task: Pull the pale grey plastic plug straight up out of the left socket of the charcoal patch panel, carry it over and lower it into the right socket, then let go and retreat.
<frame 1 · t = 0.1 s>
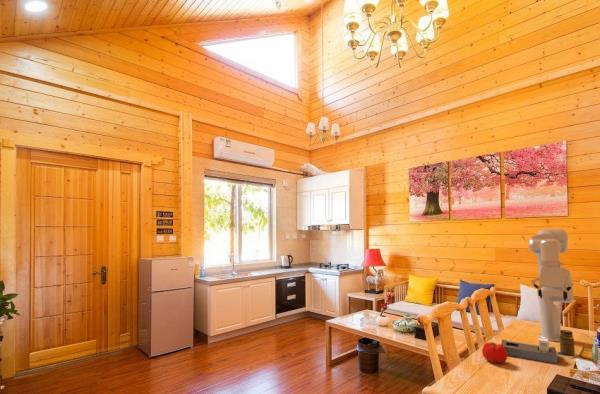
hand: (552, 298, 171), 31 cm above the table, fingers open, 9 cm apart
condiment: (566, 354, 179), on the table
tomato: (495, 362, 169), on the table
panel: (528, 354, 178), on the table
plug: (544, 357, 175), resting in panel
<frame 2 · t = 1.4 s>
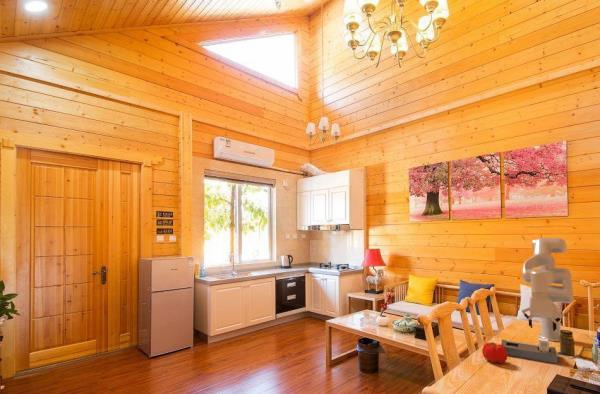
hand: (542, 329, 176), 14 cm above the table, fingers open, 9 cm apart
nothing on the table moved.
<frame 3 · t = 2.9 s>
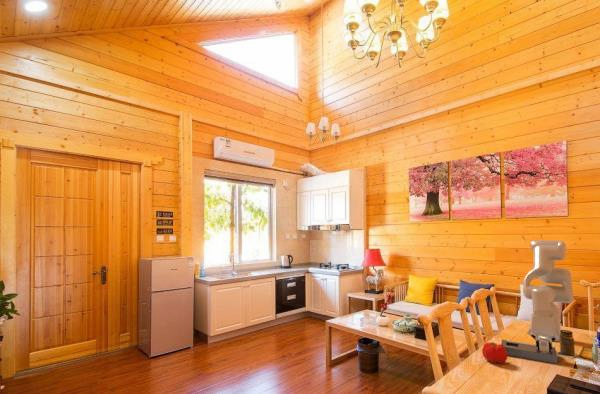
hand: (544, 348, 175), 4 cm above the table, fingers closed on plug, 4 cm apart
plug: (544, 357, 175), resting in panel, touching gripper
everything else where it was.
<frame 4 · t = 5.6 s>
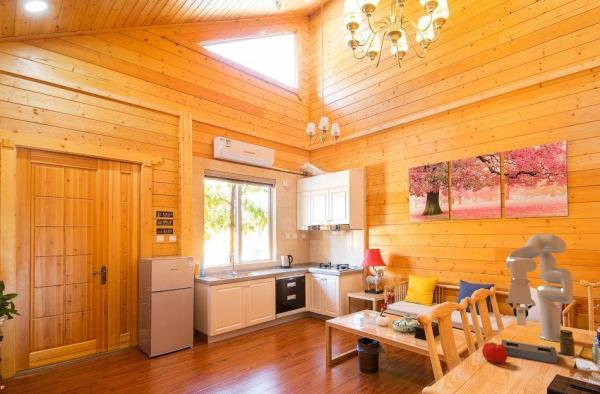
hand: (521, 316, 181), 19 cm above the table, fingers closed on plug, 4 cm apart
plug: (521, 324, 181), point 15 cm above the table, touching gripper
everything else where it was.
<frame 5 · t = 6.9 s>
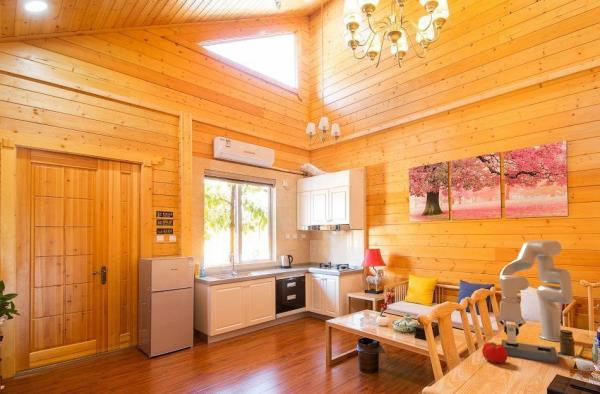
hand: (511, 334, 183), 9 cm above the table, fingers closed on plug, 4 cm apart
plug: (512, 342, 183), point 5 cm above the table, touching gripper
everything else where it was.
when the fingers open (5 cm above the table, at t = 8.1 s): plug stays where it is, resting in panel.
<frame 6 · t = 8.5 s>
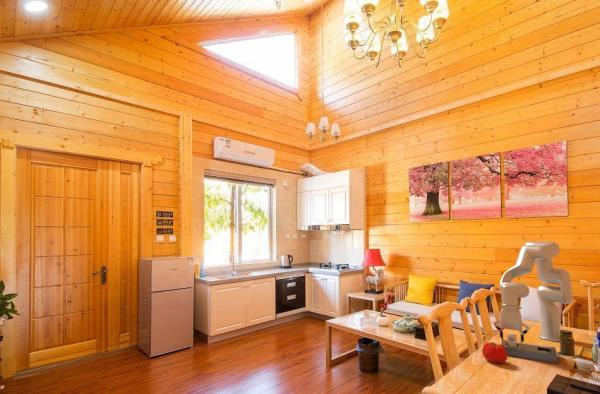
hand: (511, 340, 183), 6 cm above the table, fingers open, 8 cm apart
plug: (512, 352, 182), resting in panel
everything else where it was.
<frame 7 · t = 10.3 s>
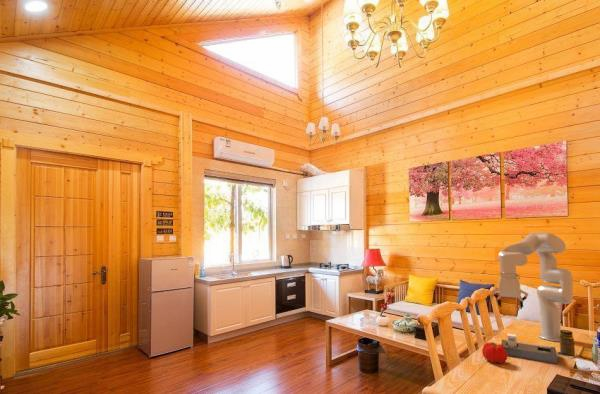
hand: (510, 307, 186), 23 cm above the table, fingers open, 9 cm apart
nothing on the table moved.
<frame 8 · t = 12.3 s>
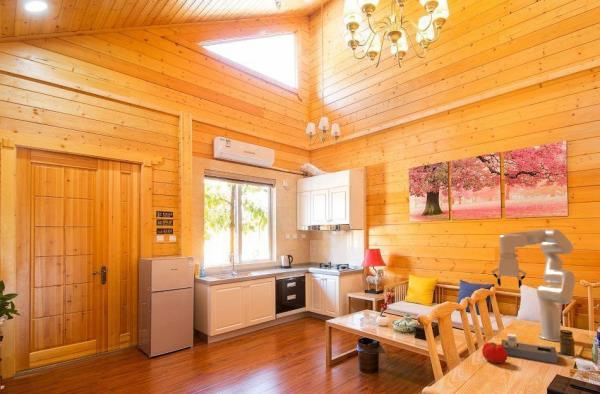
hand: (509, 286, 194), 33 cm above the table, fingers open, 9 cm apart
nothing on the table moved.
at the end: plug 0.1 cm from the target spot on the panel, point 0.0 cm above the panel's base; plug tilted 0°; the gripper is holding nothing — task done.
